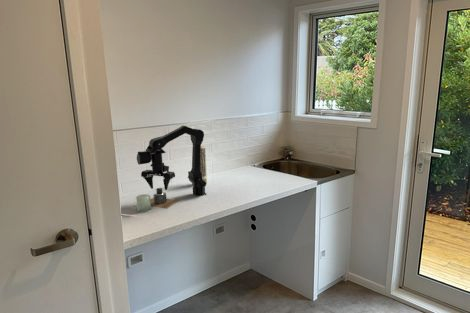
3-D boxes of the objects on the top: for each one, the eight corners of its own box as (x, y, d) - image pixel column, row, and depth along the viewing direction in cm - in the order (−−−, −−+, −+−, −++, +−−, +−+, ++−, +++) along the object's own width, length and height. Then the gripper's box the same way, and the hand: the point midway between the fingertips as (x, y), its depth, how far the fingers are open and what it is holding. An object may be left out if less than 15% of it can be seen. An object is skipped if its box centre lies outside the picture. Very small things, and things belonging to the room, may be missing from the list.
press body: (170, 200, 204) (169, 192, 203) (162, 205, 196) (161, 197, 195) (160, 199, 206) (159, 191, 205) (151, 203, 199) (151, 195, 198)
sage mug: (153, 209, 192) (152, 195, 191) (143, 215, 184) (142, 200, 183) (143, 208, 195) (141, 193, 193) (132, 213, 187) (131, 198, 186)
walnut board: (180, 201, 203) (180, 200, 203) (167, 209, 191) (167, 208, 191) (154, 198, 210) (154, 197, 210) (139, 206, 198) (139, 204, 198)
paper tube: (196, 183, 240) (194, 146, 235) (206, 182, 241) (205, 145, 235) (196, 185, 233) (194, 148, 228) (206, 185, 234) (205, 147, 229)
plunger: (165, 199, 201) (164, 187, 200) (161, 202, 197) (160, 190, 196) (159, 199, 203) (158, 187, 202) (154, 201, 199) (153, 189, 198)
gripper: (179, 159, 199) (181, 186, 203) (151, 157, 206) (153, 184, 210) (168, 164, 189) (170, 192, 192) (139, 162, 196) (141, 189, 199)
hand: (159, 189), depth 199 cm, fingers open, 9 cm apart
